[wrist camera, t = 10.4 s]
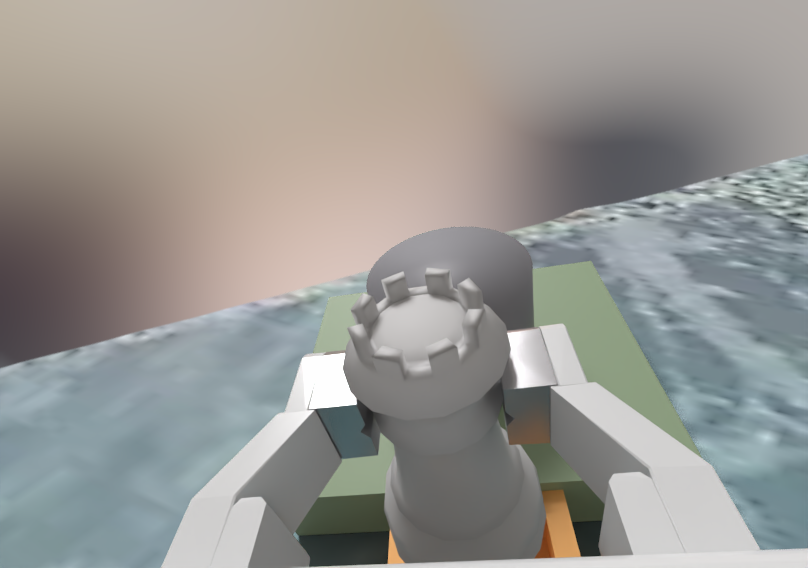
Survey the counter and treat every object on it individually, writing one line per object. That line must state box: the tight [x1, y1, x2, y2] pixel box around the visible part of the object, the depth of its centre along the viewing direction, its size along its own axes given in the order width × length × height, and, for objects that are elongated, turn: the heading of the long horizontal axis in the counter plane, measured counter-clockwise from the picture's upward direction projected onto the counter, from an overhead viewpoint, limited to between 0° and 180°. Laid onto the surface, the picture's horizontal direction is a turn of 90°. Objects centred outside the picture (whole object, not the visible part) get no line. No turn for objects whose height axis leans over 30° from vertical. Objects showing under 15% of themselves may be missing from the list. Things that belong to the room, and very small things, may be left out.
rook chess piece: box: [342, 268, 546, 563], centre depth 10 cm, size 4×4×8 cm
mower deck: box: [295, 227, 703, 564], centre depth 20 cm, size 30×20×10 cm, turn 178°
